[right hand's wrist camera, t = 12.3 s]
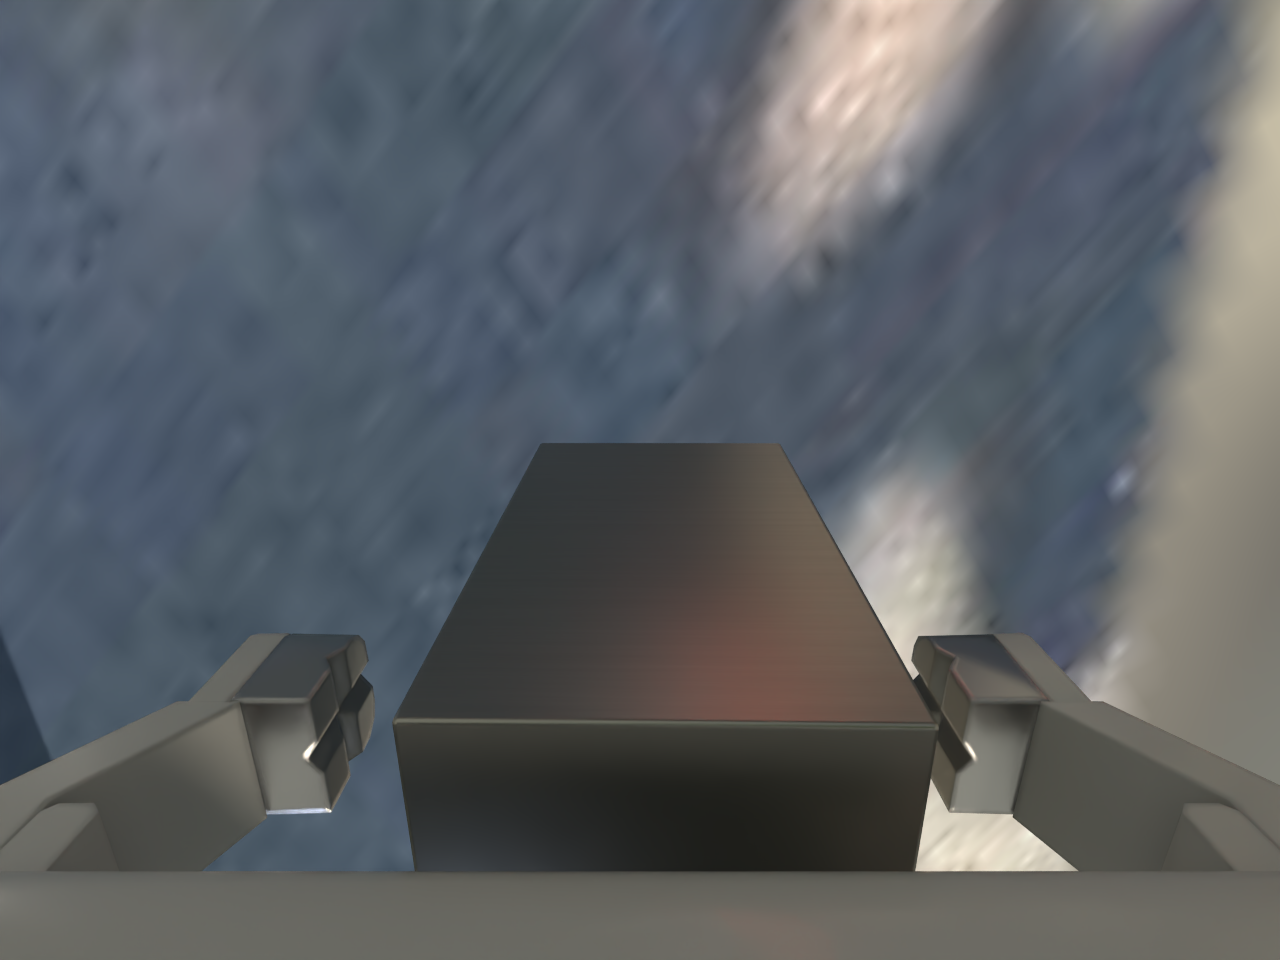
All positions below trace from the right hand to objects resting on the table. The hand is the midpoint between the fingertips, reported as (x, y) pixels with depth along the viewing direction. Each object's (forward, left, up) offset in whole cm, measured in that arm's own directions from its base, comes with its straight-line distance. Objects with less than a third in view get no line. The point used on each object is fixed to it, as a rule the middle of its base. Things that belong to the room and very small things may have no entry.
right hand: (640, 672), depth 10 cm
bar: (+11, 0, -4) cm, 11 cm away
